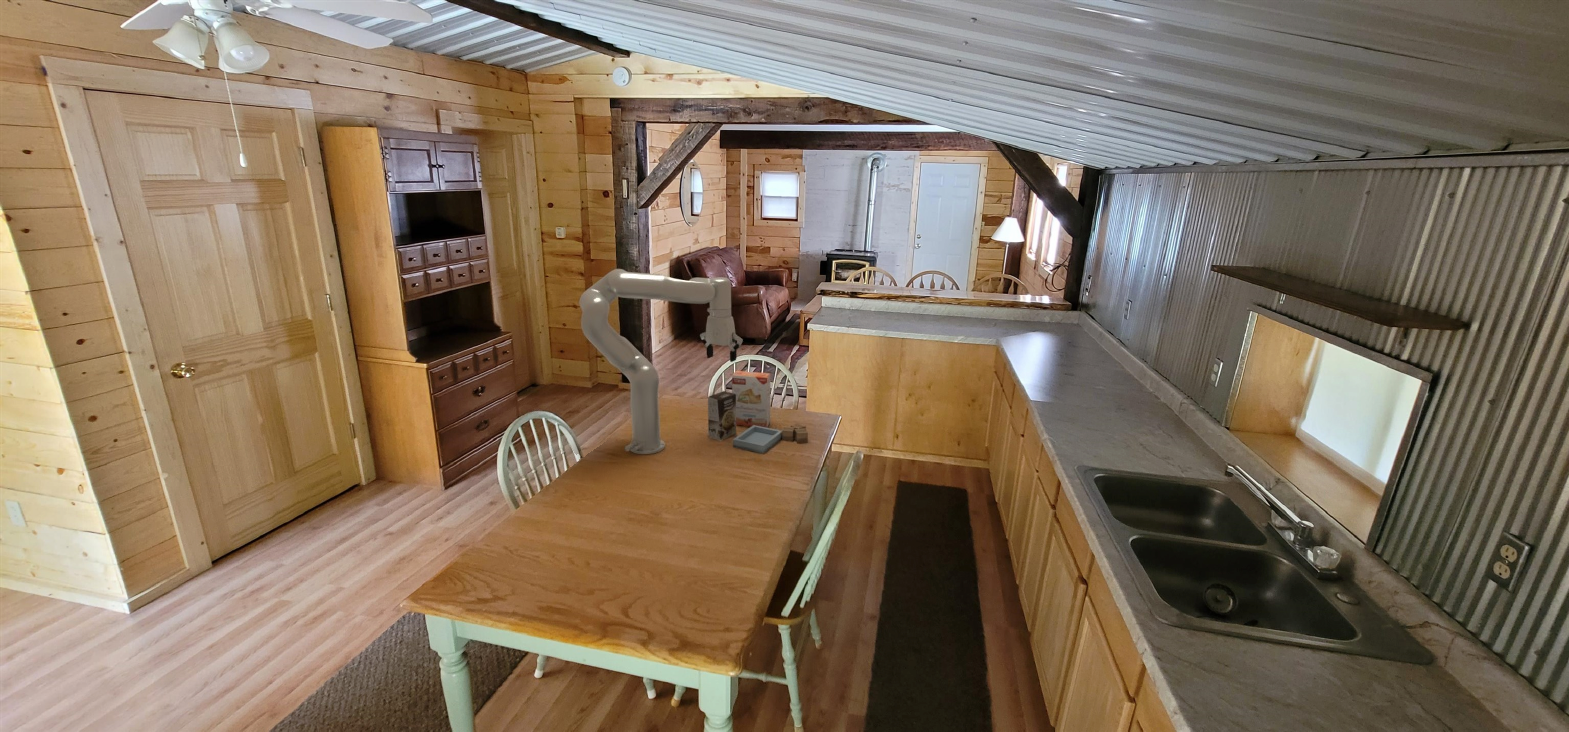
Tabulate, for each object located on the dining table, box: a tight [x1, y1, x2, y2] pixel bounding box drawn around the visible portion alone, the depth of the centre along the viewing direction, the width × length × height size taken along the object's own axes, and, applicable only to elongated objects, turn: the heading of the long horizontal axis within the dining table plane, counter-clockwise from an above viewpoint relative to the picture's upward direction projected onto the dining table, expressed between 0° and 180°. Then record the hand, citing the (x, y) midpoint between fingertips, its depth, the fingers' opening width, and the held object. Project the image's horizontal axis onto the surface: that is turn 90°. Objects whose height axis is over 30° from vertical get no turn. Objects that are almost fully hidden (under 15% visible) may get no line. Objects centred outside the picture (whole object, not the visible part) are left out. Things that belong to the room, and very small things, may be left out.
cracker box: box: [731, 370, 771, 428], centre depth 250 cm, size 14×6×21 cm, turn 78°
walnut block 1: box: [781, 426, 795, 442], centre depth 240 cm, size 4×4×4 cm
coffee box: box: [707, 390, 737, 442], centre depth 240 cm, size 9×6×16 cm
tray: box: [732, 425, 783, 455], centre depth 236 cm, size 15×12×3 cm
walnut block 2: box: [790, 422, 807, 430], centre depth 243 cm, size 4×4×4 cm
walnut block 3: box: [794, 428, 809, 444], centre depth 238 cm, size 4×4×4 cm
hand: (721, 359), depth 234 cm, fingers open, 9 cm apart
